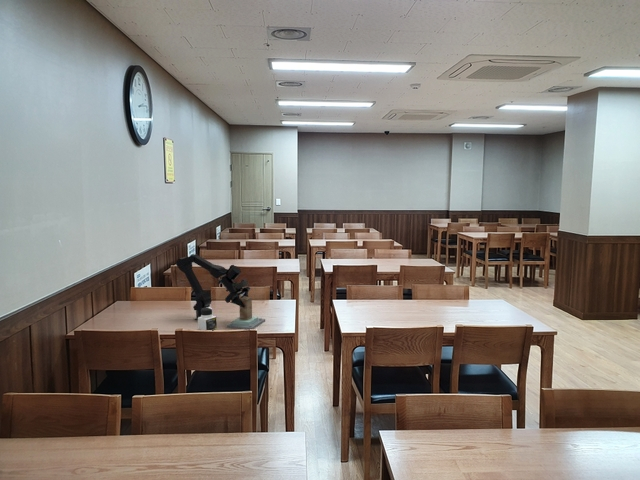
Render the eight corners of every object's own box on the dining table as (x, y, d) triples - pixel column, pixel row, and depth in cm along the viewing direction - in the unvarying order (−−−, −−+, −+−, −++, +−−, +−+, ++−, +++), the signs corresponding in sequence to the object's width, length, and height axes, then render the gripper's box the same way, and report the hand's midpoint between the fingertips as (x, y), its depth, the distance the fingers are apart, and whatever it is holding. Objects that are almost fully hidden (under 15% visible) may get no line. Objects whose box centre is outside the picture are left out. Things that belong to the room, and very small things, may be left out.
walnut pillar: (239, 319, 247) (239, 298, 245) (244, 316, 251) (244, 296, 250) (247, 320, 245) (247, 299, 243) (252, 317, 250) (251, 297, 248)
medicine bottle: (206, 332, 236) (205, 310, 235) (198, 329, 241) (197, 308, 239) (217, 328, 242) (216, 307, 240) (208, 326, 246) (207, 305, 245)
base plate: (226, 327, 244) (226, 321, 244) (241, 318, 259) (240, 313, 258) (251, 330, 238) (251, 324, 238) (265, 321, 253) (265, 315, 253)
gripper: (228, 279, 238) (247, 300, 235) (246, 272, 255) (264, 292, 252) (217, 292, 242) (235, 313, 239) (235, 284, 259) (252, 304, 256)
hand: (247, 305), depth 247 cm, fingers open, 6 cm apart
